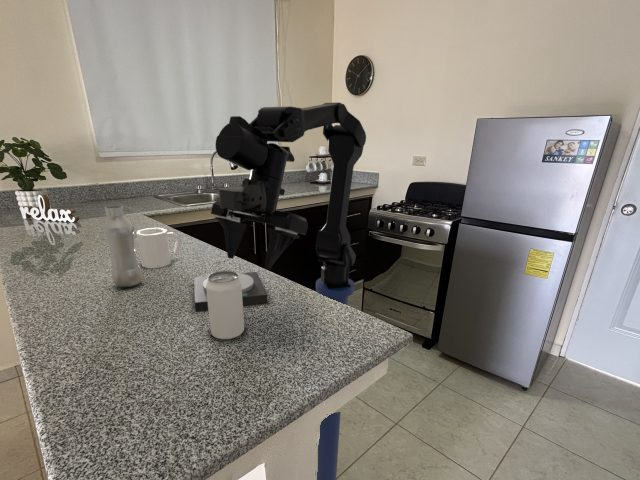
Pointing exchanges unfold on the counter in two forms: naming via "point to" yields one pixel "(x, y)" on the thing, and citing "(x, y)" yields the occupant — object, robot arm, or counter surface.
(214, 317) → the can
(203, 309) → the scale
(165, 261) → the mug
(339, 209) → the robot arm
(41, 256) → the counter surface
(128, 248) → the plastic bottle
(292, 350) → the counter surface
